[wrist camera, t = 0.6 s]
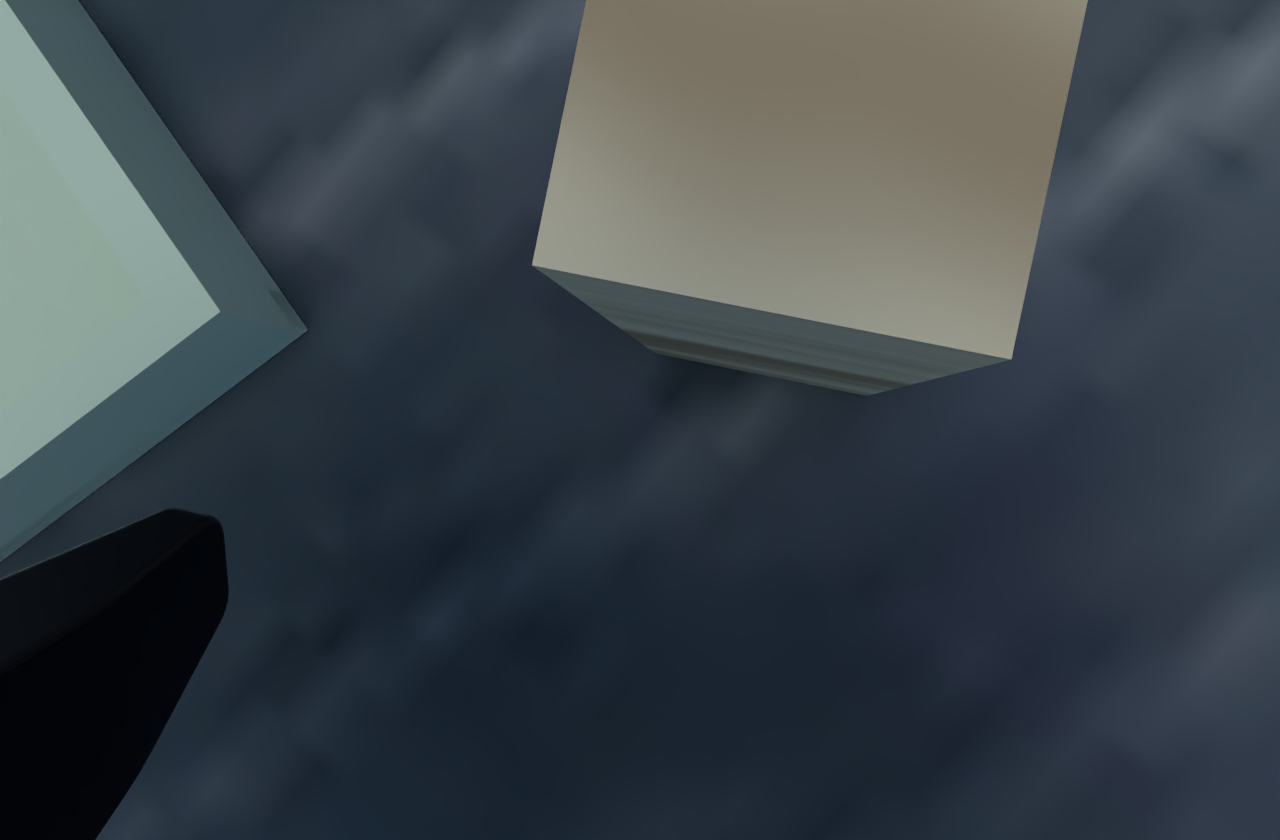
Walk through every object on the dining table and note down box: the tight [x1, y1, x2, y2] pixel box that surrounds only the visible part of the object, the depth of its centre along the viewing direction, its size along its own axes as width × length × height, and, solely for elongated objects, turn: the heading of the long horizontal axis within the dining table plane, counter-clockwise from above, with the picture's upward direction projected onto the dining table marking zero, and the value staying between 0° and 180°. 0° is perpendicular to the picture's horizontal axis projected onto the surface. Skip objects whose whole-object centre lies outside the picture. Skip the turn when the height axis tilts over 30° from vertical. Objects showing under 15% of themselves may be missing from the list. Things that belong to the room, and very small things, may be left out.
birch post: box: [532, 0, 1088, 396], centre depth 17 cm, size 4×4×13 cm
